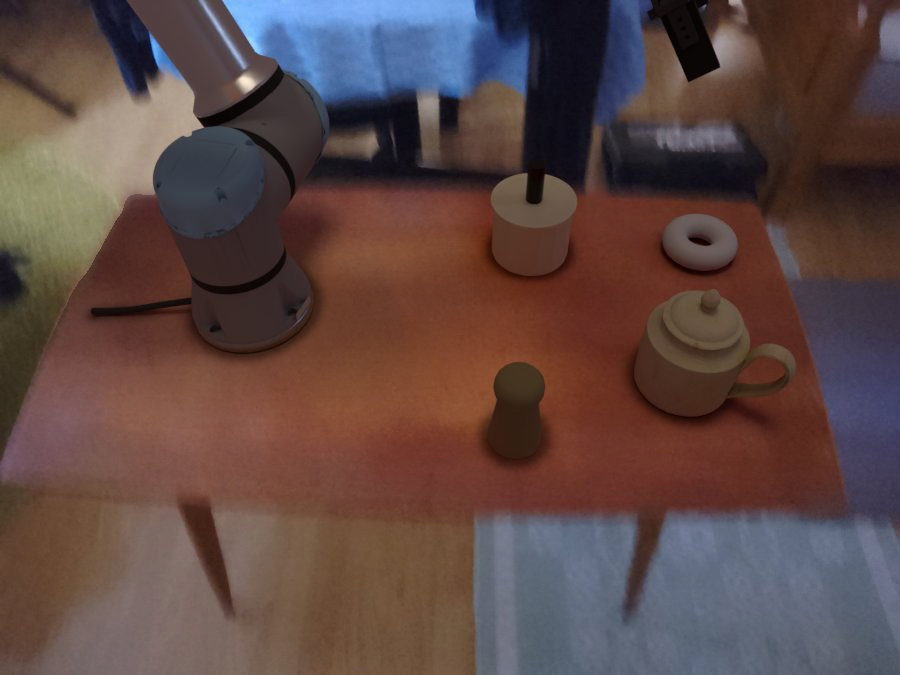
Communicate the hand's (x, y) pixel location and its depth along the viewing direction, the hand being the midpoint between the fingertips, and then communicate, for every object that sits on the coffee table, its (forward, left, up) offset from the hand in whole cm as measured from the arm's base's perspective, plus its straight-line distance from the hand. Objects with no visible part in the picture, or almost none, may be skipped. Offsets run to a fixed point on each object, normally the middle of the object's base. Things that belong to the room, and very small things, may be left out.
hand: (699, 39), depth 62 cm
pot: (-9, +13, -35) cm, 38 cm away
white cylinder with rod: (-9, +13, -26) cm, 31 cm away
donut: (+13, +6, -35) cm, 37 cm away
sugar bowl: (+2, -14, -35) cm, 38 cm away
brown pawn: (-21, -15, -35) cm, 44 cm away
